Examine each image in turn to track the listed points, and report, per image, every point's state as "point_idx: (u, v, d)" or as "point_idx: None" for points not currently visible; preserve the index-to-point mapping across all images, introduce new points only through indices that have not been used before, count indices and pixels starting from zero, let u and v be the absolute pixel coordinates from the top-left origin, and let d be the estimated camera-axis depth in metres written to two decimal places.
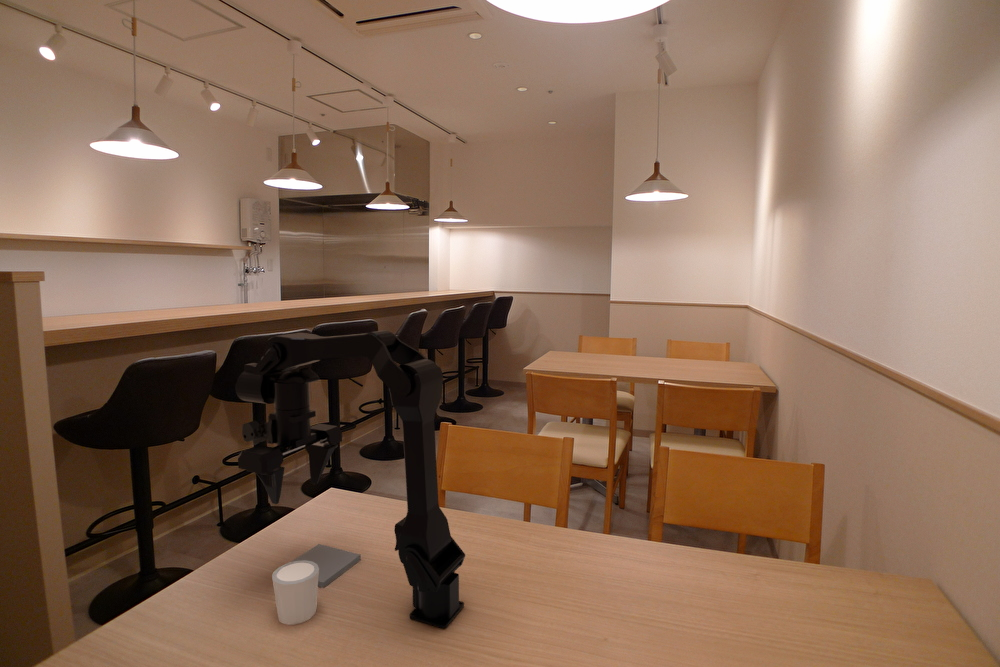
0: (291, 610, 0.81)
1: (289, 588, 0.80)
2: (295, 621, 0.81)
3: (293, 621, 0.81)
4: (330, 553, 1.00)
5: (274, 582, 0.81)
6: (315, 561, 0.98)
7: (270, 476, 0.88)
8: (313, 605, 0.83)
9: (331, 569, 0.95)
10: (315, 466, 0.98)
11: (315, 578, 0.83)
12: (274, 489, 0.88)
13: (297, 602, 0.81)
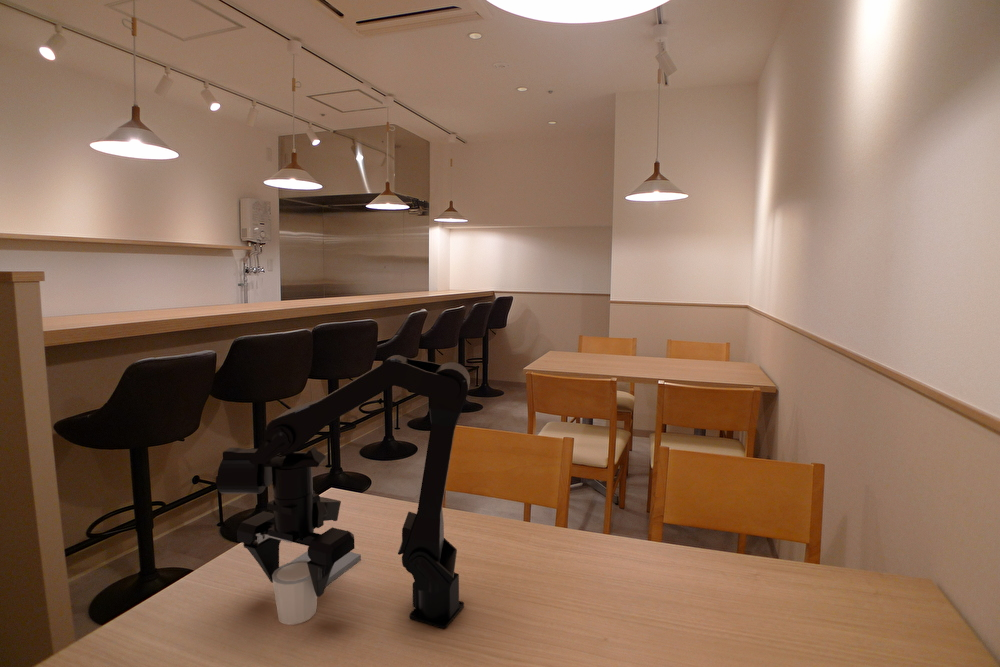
0: (291, 610, 0.81)
1: (289, 588, 0.80)
2: (295, 621, 0.81)
3: (293, 621, 0.81)
4: None
5: (274, 582, 0.81)
6: None
7: None
8: (313, 605, 0.83)
9: None
10: None
11: None
12: None
13: (297, 602, 0.81)
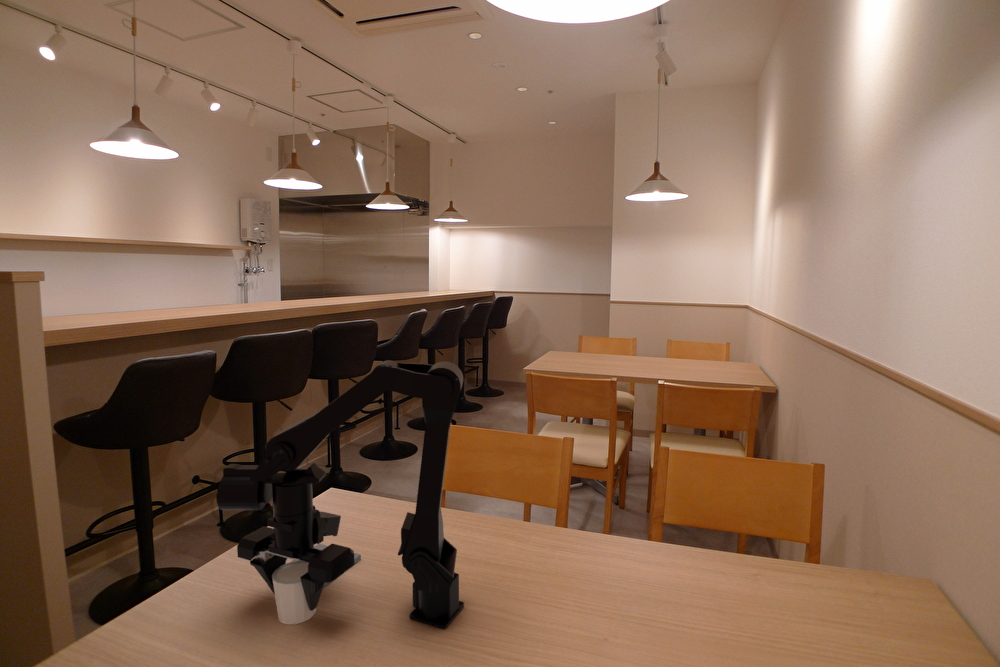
0: (291, 610, 0.81)
1: (289, 587, 0.80)
2: (295, 621, 0.81)
3: (293, 621, 0.81)
4: None
5: (274, 582, 0.81)
6: None
7: None
8: None
9: None
10: None
11: None
12: None
13: (297, 602, 0.81)
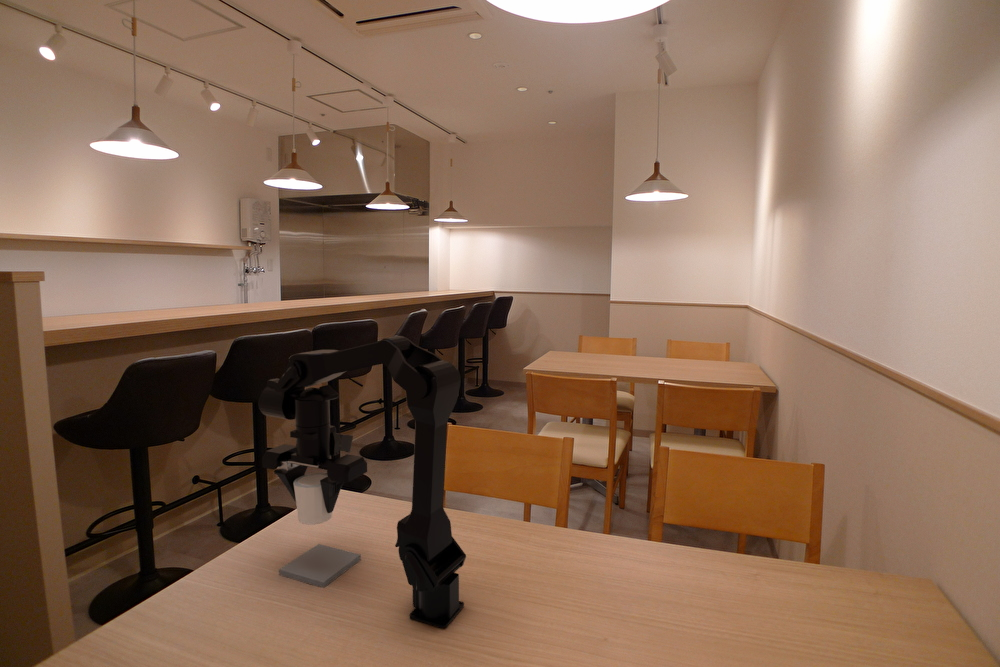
0: (311, 511, 0.92)
1: (309, 491, 0.91)
2: (314, 521, 0.92)
3: (312, 521, 0.92)
4: (330, 553, 1.00)
5: (296, 487, 0.92)
6: (315, 561, 0.98)
7: None
8: None
9: (331, 569, 0.95)
10: None
11: None
12: None
13: (316, 504, 0.92)
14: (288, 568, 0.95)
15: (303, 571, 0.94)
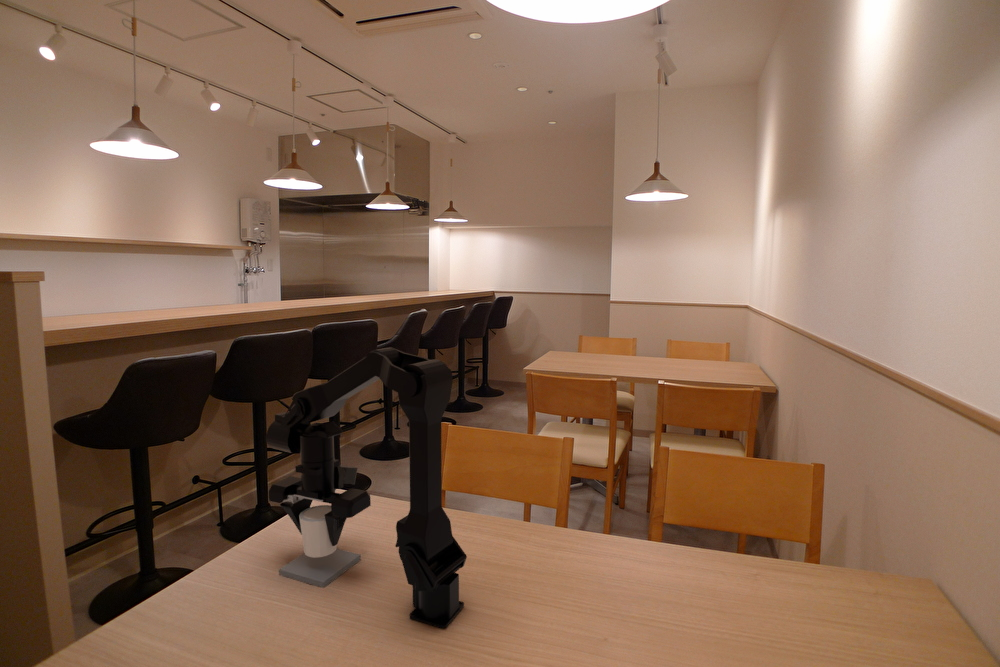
0: (316, 544, 0.94)
1: (314, 524, 0.93)
2: (320, 554, 0.94)
3: (318, 554, 0.94)
4: None
5: (301, 520, 0.94)
6: (315, 561, 0.98)
7: None
8: None
9: (331, 569, 0.95)
10: None
11: None
12: None
13: (321, 537, 0.94)
14: (288, 568, 0.95)
15: (303, 571, 0.94)
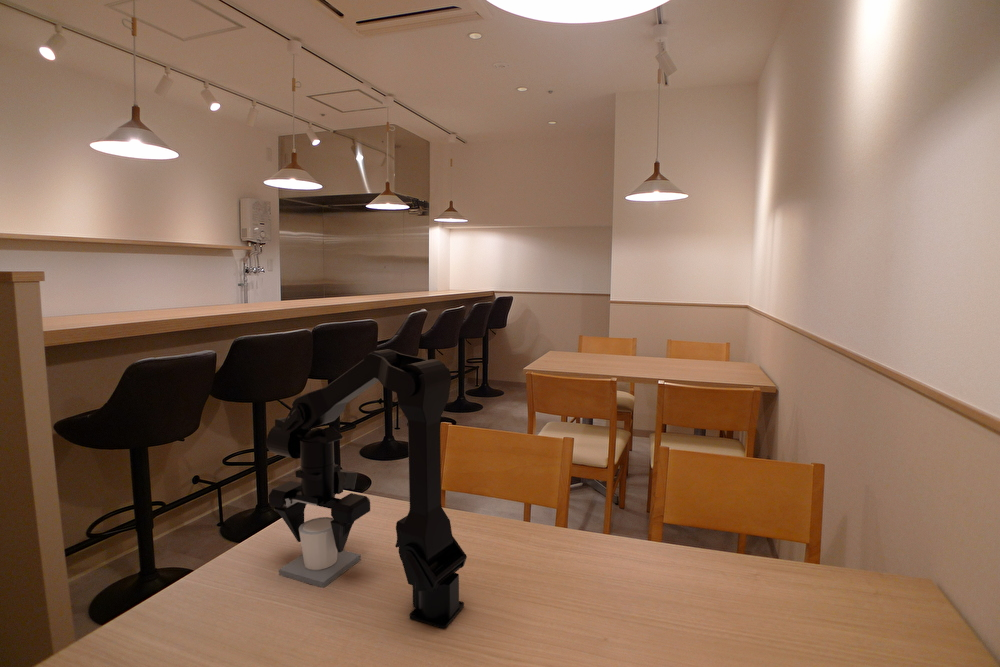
0: (316, 557, 0.94)
1: (314, 537, 0.93)
2: (320, 567, 0.95)
3: (317, 567, 0.95)
4: None
5: (301, 533, 0.94)
6: None
7: None
8: (334, 554, 0.96)
9: (331, 569, 0.95)
10: None
11: None
12: None
13: (321, 550, 0.94)
14: (288, 568, 0.95)
15: (303, 571, 0.94)
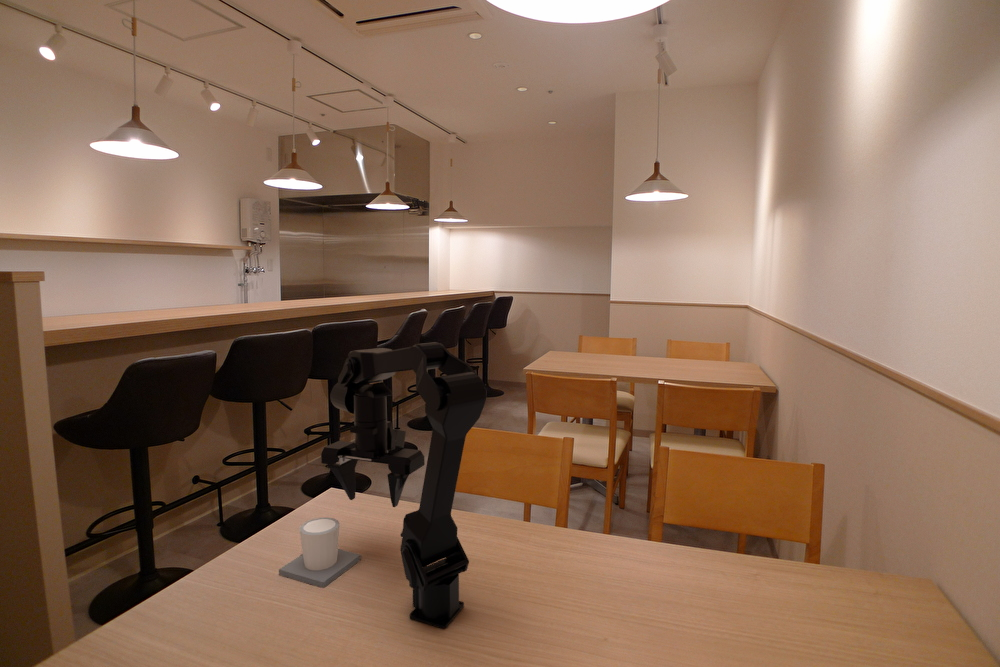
0: (316, 557, 0.94)
1: (314, 538, 0.93)
2: (320, 567, 0.95)
3: (318, 567, 0.95)
4: None
5: (301, 533, 0.94)
6: None
7: None
8: (334, 554, 0.96)
9: (331, 569, 0.95)
10: None
11: (336, 531, 0.96)
12: None
13: (321, 550, 0.94)
14: (288, 568, 0.95)
15: (303, 571, 0.94)
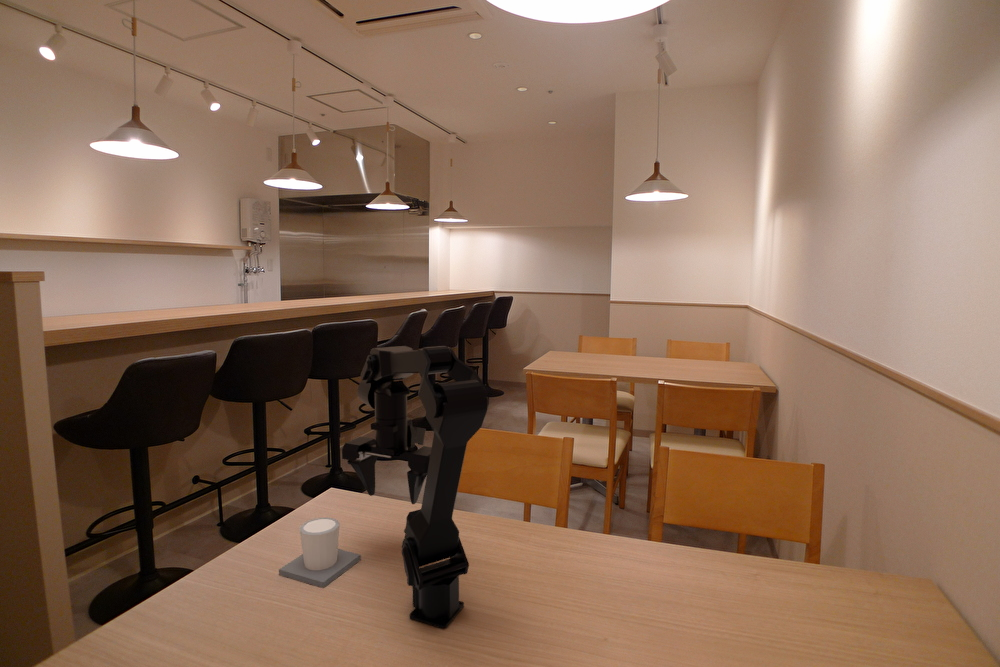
0: (316, 557, 0.94)
1: (314, 538, 0.93)
2: (320, 567, 0.95)
3: (318, 567, 0.95)
4: None
5: (301, 533, 0.94)
6: None
7: None
8: (334, 554, 0.96)
9: (331, 569, 0.95)
10: None
11: (336, 531, 0.96)
12: None
13: (321, 550, 0.94)
14: (288, 568, 0.95)
15: (303, 571, 0.94)
